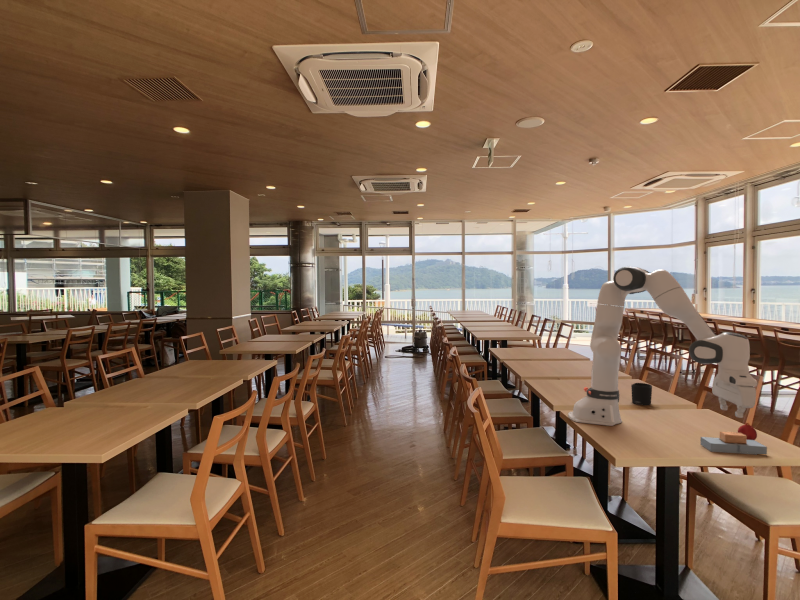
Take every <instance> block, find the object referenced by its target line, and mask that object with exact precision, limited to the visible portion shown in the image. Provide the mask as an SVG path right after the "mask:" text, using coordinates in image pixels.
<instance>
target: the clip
mask: <svg viewBox="0 0 800 600" xmlns="http://www.w3.org/2000/svg"><path fill="white" fill-rule="evenodd" d="M719 438H720V440H721V441H723V442H724V443H730V444H731V443H737V444H747V436H746V435H744V434H742V433H738V431H737V432H735V431H719Z"/></svg>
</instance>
